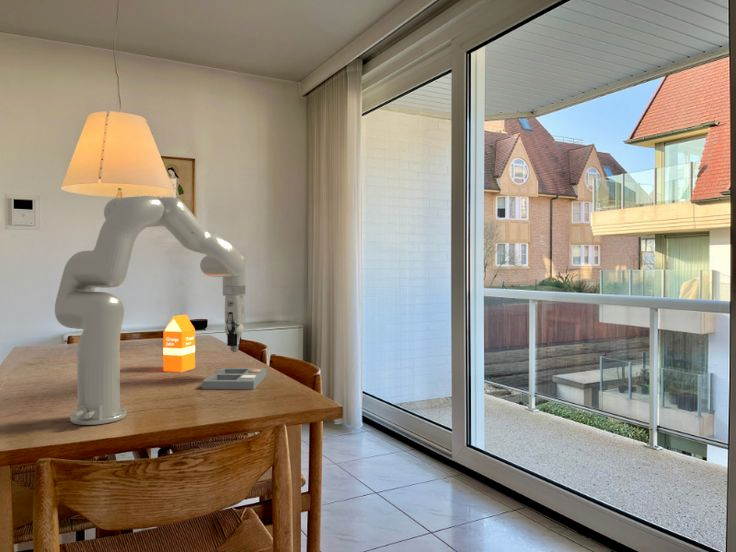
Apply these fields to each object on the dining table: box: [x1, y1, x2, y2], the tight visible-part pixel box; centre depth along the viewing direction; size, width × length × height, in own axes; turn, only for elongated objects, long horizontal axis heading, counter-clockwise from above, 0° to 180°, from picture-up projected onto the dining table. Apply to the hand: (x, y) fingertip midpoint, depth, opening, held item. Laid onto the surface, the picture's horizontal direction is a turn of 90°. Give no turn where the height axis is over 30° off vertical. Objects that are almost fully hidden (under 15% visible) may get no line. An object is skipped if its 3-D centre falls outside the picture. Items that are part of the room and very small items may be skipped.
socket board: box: [201, 367, 268, 391], centre depth 177 cm, size 22×16×3 cm
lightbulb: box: [224, 323, 244, 353], centre depth 182 cm, size 6×6×11 cm
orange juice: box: [162, 314, 196, 373], centre depth 197 cm, size 8×9×20 cm
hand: (234, 344), depth 182 cm, fingers closed on lightbulb, 5 cm apart
